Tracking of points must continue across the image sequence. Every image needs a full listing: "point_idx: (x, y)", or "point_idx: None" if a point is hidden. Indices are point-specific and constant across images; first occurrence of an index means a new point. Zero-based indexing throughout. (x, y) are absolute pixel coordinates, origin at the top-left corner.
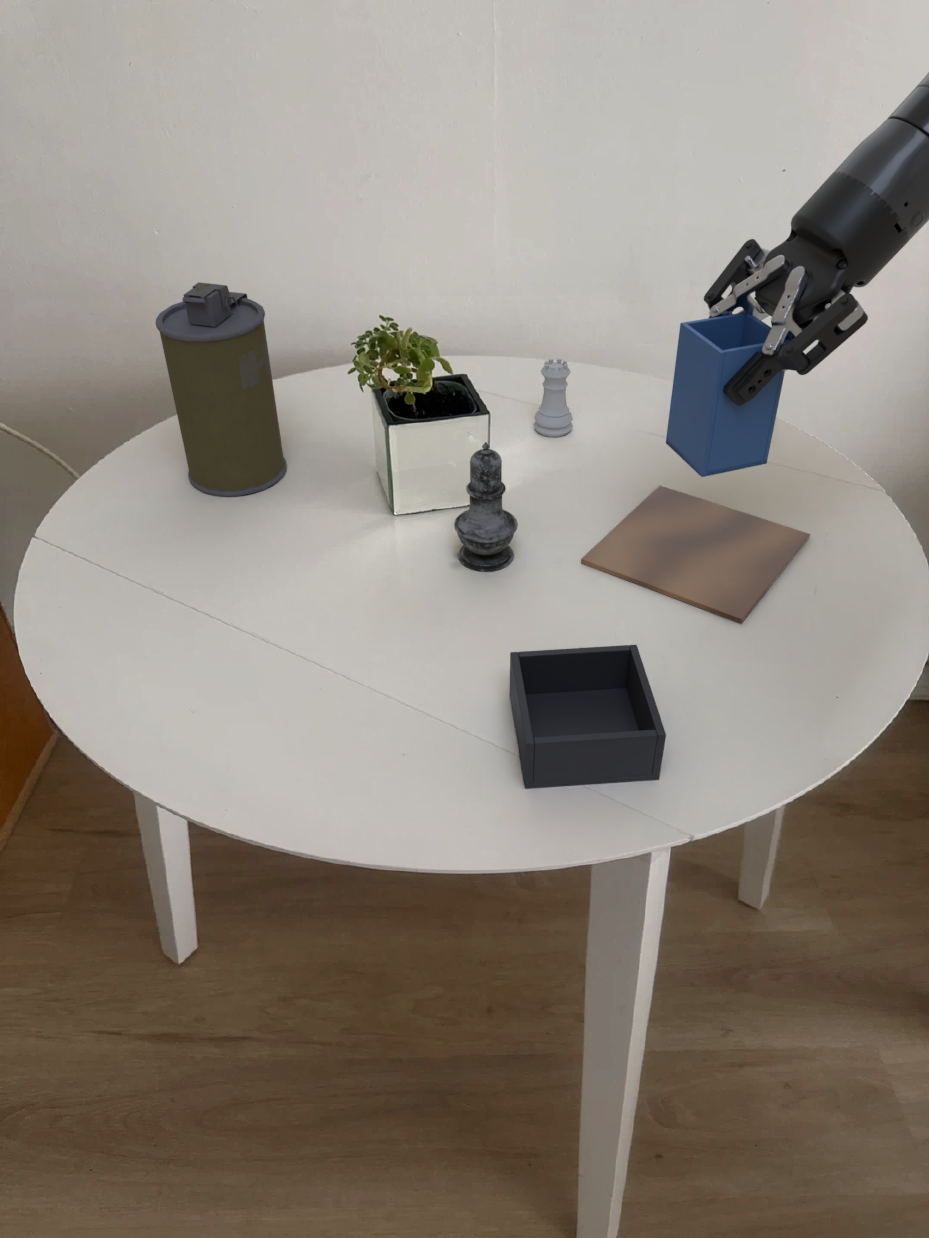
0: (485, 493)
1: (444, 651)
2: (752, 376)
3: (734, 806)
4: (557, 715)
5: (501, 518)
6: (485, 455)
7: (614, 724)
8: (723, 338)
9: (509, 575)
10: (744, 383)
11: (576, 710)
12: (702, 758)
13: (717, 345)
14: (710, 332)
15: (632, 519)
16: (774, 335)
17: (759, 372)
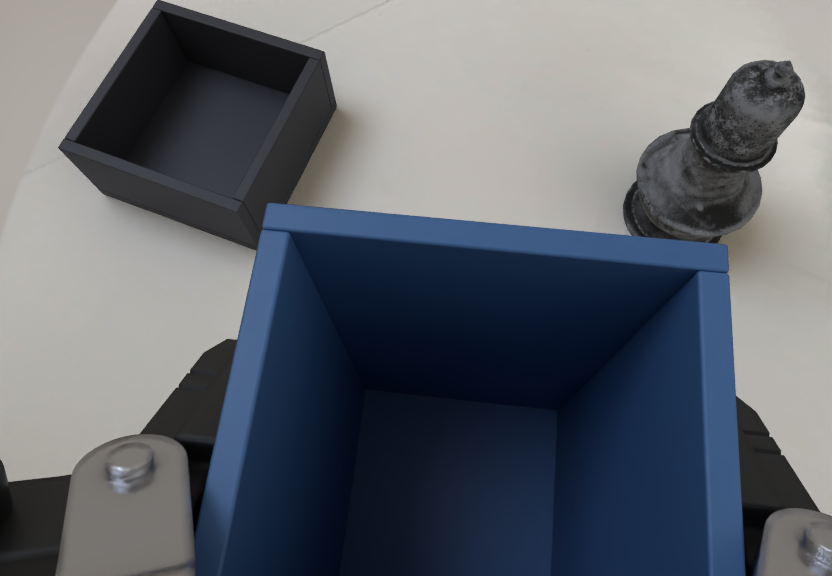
0: (704, 118)
1: (463, 72)
2: (191, 390)
3: (10, 249)
4: (259, 130)
5: (681, 185)
6: (762, 73)
7: (202, 183)
8: (657, 561)
9: (602, 224)
10: (213, 362)
11: (254, 155)
12: (96, 262)
13: (644, 524)
14: (676, 459)
15: None
16: (131, 528)
17: (159, 410)
